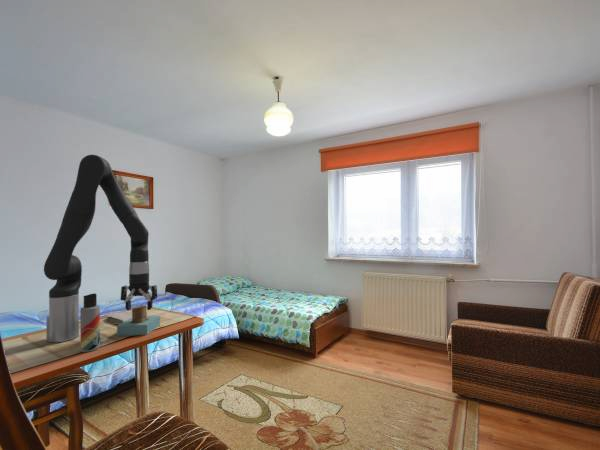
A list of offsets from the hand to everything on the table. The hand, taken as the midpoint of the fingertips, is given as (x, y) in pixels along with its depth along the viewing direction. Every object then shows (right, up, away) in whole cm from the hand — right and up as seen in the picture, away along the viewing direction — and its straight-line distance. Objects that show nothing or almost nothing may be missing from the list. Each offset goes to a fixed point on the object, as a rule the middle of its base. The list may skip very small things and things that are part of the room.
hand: (139, 309), depth 124 cm
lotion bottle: (-7, -9, -20) cm, 23 cm away
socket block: (0, -9, 0) cm, 9 cm away
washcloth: (-15, -10, +16) cm, 24 cm away
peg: (0, -9, 0) cm, 9 cm away
